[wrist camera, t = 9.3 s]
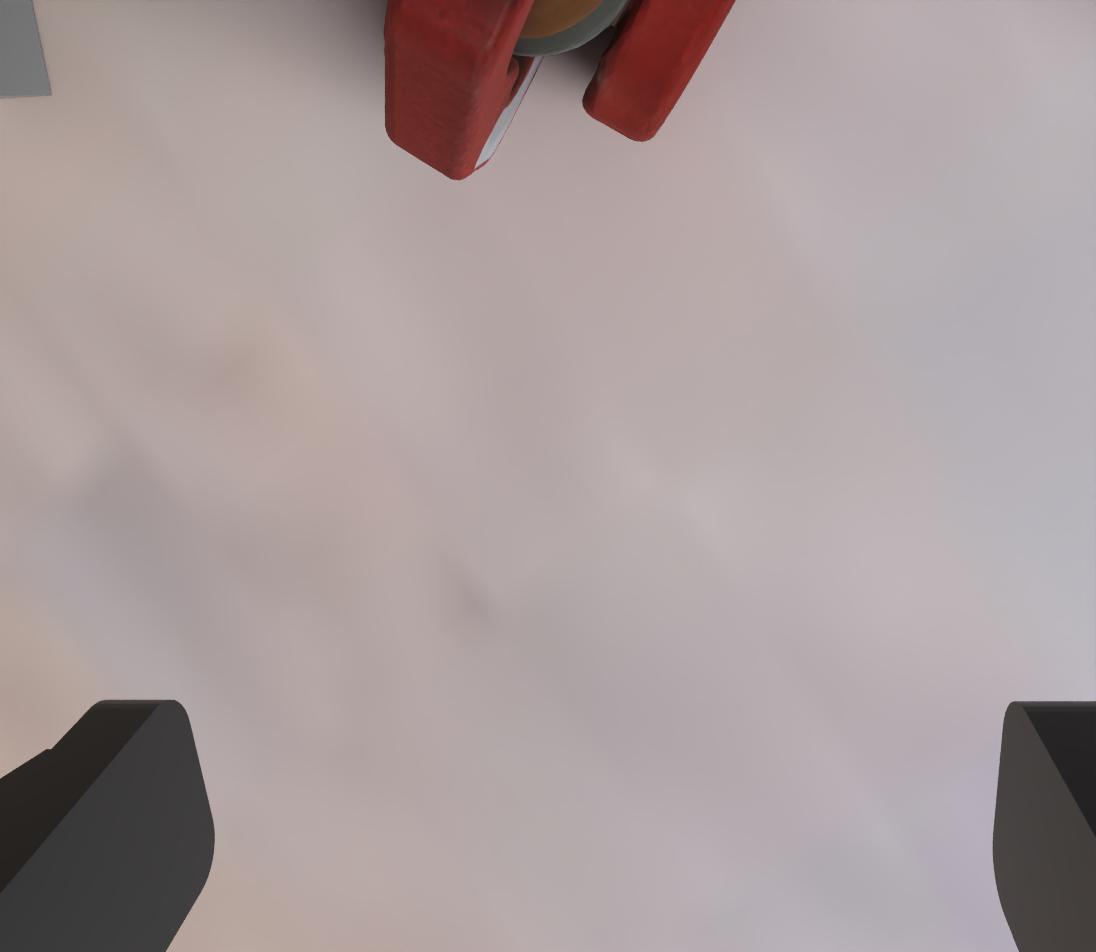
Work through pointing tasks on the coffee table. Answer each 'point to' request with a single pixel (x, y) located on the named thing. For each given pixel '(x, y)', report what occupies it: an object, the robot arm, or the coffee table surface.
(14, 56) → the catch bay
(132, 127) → the coffee table surface
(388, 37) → the toy fire truck
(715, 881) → the coffee table surface
